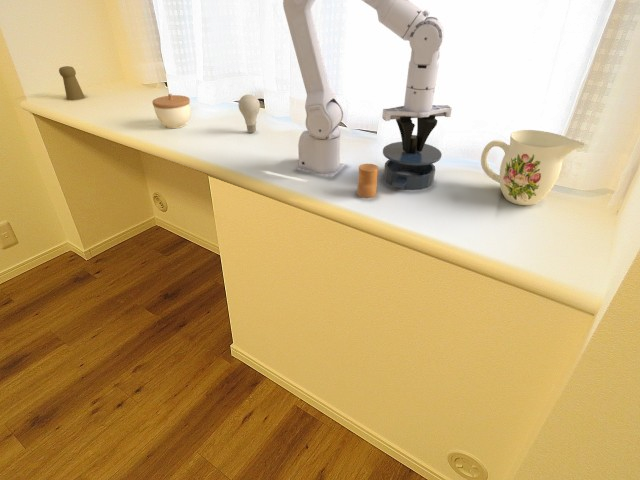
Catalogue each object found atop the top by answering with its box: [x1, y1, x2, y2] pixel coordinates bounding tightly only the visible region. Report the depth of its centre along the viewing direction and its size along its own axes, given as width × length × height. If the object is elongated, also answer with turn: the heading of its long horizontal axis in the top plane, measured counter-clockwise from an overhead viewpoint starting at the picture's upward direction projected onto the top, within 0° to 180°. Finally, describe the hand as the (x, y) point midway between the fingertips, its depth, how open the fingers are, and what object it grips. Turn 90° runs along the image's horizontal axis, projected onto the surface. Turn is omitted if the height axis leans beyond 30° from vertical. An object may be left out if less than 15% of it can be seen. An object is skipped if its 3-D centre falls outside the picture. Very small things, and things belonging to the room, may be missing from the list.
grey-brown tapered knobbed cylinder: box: [58, 65, 86, 101], centre depth 149 cm, size 6×6×11 cm
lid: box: [382, 134, 443, 165], centre depth 89 cm, size 13×13×4 cm
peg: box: [357, 163, 379, 199], centre depth 86 cm, size 4×4×7 cm
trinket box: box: [152, 93, 192, 129], centre depth 124 cm, size 11×11×9 cm
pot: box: [383, 159, 436, 191], centre depth 93 cm, size 11×17×4 cm
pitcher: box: [480, 129, 587, 206], centre depth 83 cm, size 11×18×14 cm, turn 51°
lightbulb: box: [238, 93, 261, 134], centre depth 118 cm, size 6×6×11 cm
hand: (412, 150), depth 89 cm, fingers closed on lid, 2 cm apart
